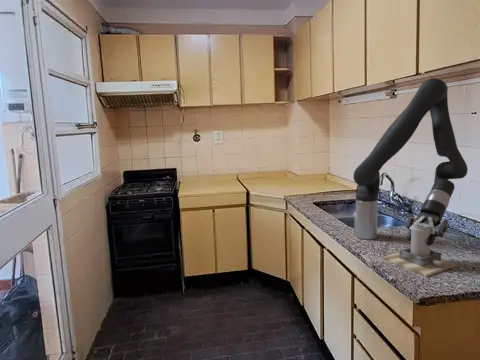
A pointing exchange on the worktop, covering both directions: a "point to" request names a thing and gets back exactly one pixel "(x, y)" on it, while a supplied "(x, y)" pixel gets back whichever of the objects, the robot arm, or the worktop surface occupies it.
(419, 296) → the worktop surface
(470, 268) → the worktop surface
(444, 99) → the robot arm
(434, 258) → the block
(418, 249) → the beverage can
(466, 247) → the worktop surface
